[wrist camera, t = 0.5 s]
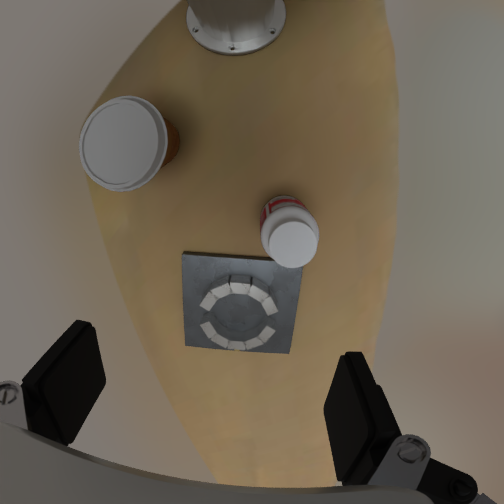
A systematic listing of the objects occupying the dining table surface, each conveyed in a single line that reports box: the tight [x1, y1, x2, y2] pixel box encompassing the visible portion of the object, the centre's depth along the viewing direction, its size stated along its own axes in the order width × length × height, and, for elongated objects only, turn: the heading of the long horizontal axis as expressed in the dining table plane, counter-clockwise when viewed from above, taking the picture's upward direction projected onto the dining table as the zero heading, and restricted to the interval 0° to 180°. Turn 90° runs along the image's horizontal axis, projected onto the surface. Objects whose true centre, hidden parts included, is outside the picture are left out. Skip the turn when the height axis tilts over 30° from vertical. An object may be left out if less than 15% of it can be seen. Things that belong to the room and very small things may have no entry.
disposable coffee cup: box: [79, 96, 180, 192], centre depth 30 cm, size 10×10×12 cm
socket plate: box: [182, 251, 303, 354], centre depth 42 cm, size 15×16×4 cm
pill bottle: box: [260, 196, 319, 268], centre depth 34 cm, size 6×6×11 cm
